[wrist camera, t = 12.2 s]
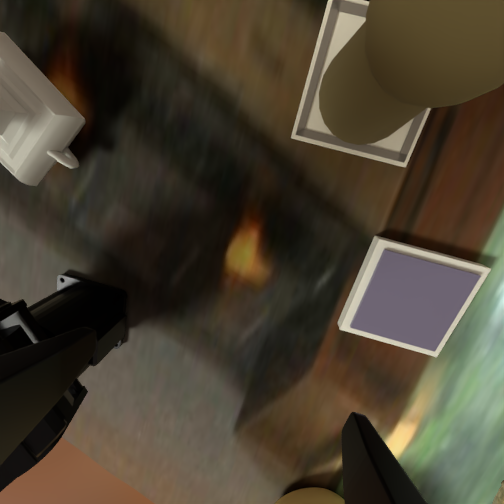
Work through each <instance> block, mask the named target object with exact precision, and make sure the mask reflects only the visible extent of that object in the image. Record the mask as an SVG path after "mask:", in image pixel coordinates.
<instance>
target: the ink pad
mask: <svg viewBox="0 0 504 504" xmlns="http://www.w3.org/2000/svg"><path fill="white" fill-rule="evenodd" d="M490 270H491V269H490V268H488V267H486V266H484V265H482V264H480V263H476V262H472V261H468V260H465V259H461V258H457V257H454V256H450V255H446V254H442V253H439V252H435V251H431V250H428V249H424V248H420V247H416V246H413V245H409V244H405V243H402V242H398V241H394V240H390V239H387V238H383V237H379V236H374V238H373V241H372V243H371V245H370V248H369V250H368V252H367V255H366V257H365V259H364V262H363V264H362V267H361V269H360V271H359V274H358V276H357V278H356V281H355V283H354V285H353V288H352V290H351V292H350V295H349V297H348V299H347V302H346V304H345V306H344V309H343V311H342V313H341V316H340V318H339V320H338V325H339V329H340V330H343V331H347V332H350V333H354V334H357V335H361V336H364V337H368V338H371V339H375V340H378V341H382V342H385V343H389V344H392V345H396V346H399V347H403V348H406V349H410V350H413V351H417V352H420V353H424V354H427V355H431V356H434V357H437V356H438V354H439V353H440V351H441V349H442V348H443V346H444V345H445V343H446V341H447V340H448V338H449V337H450V335H451V333H452V332H453V330H454V328H455V327H456V325H457V324H458V322H459V320H460V319H461V317H462V315H463V314H464V312H465V311H466V309H467V307H468V306H469V304H470V303H471V301H472V299H473V298H474V296H475V294H476V293H477V291H478V290H479V288H480V286H481V285H482V283H483V282H484V280H485V278H486V277H487V275H488V273H489V272H490Z"/></svg>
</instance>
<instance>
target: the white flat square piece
mask: <svg viewBox="0 0 504 504" xmlns="http://www.w3.org/2000/svg"><path fill="white" fill-rule="evenodd" d="M368 5H369V1H364V0H328V3H327V7H326V11H325V14H324V18H323V22H322V25H321V29H320V33H319V36H318V40H317V44H316V47H315V51H314V55H313V58H312V62H311V66H310V69H309V73H308V77H307V80H306V84H305V88H304V91H303V95H302V99H301V102H300V106H299V110H298V113H297V117H296V121H295V124H294V128H293V132H292V135H291V139H295V140H299V141H303V142H307V143H311V144H315V145H319V146H323V147H326V148H330V149H334V150H338V151H342V152H346V153H350V154H354V155H358V156H362V157H365V158H369V159H373V160H377V161H381V162H385V163H389V164H393V165H397V166H400V167H406V166H407V163H408V161H409V159H410V156H411V154H412V152H413V149H414V147H415V145H416V142H417V140H418V138H419V135H420V133H421V131H422V128H423V126H424V124H425V121H426V119H427V117H428V114H429V112H430V110H431V108H426V109H425V110H424V111H422V112H421V113H420V114H418V115H417V116H416V117H414V118H413V119H412V120H410V121H409V122H408V123H406V124H405V125H404V126H402V127H401V128H400V129H398V130H397V131H396V132H394V133H393V134H391V135H390V136H389V137H387V138H385V139H382V140H380V141H378V142H375V143H372V144H363V145H356V144H352V143H347V142H344V141H342V140H341V139H339V138H338V137H336V136H335V135H333V134H332V133H331V131H330V130H329V129H328V127H327V126H326V125H325V124H324V121H323V118H322V115H321V112H320V109H319V90H320V86H321V82H322V78H323V75H324V73H325V71H326V70H327V68H328V66H329V64H330V63H331V61H332V59H333V58H334V57H335V56H336V55H337V54H338V52H339V51H340V50H341V49H342V48H343V47H344V45H345V44H346V43H347V42H348V41H349V40H350V38H351V37H352V36H353V35H354V34H355V33H356V31H357V30H358V29H359V28H360V27H361V26H362V24H363V23H364V22H365V21H366V12H367V9H368Z"/></svg>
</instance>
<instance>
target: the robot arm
mask: <svg viewBox="0 0 504 504" xmlns="http://www.w3.org/2000/svg"><path fill="white" fill-rule="evenodd" d="M63 278H64V279H63ZM119 294H120V295H121V297H120V296H119ZM126 297H127V295H126V293H125V291H123V290H121V289H117V288H114V287H110V286H107V285H103V284H100V283H96V282H93V281H89V280H86V279H83V278H79V277H76V276H72V275H69V274H61V275H59V276H58V277H57V292H55V293H53V294H52V295H50V296H48V297H46V298H44V299H42V300H41V301H39V302H37V303H35V304H33V305H32V306H30V307H28V308H27V307H26V306H27V304H26V303H25V301H24V300H23V299H22V300H19V301H17V302H14V303H12V304H11V302H6V301H4V300H2V299H0V492H1V491H2V490H3V489H4V488H5V487H6V486H8V485H9V484H10V483H11V482H12V481H13V480H15V479H16V478H17V477H19V476H21V475H22V474H24V473H25V472H27V471H28V470H29V469H31V468H32V467H33V466H35V465H36V464H37V463H38V462H39V461H40V460H42V459H43V458H44V457H45V456H46V455H47V454H48V453H49V452H50V451H51V450H52V449H53V447H54V446H55V445H56V444H57V443H58V441H59V440H60V438H61V437H62V435H63V434H64V432H65V430H66V429H67V427H68V425H69V423H70V422H71V420H72V418H73V417H74V415H75V413H76V411H77V410H78V408H79V406H80V404H81V403H82V401H83V399H84V398H85V396H86V394H87V392H88V391H87V389H86V388H85V386H82V385H81V383H80V382H79V380H78V379H77V378H78V377H79V376H80V375H81V374H82V373H83V372H84V371H85V370H86V369H87V368H88V367H89V366H90V365H91V366H96V365H97V364H98V363H99V362H100V361H101V360H102V359H103V358H104V357H105V356H106V355H107V354H108V353H109V352H110V351H111V350H112V349H113V348H115V349H118V348H119V347H120V346H121V345H122V343H123V337H124V336H125V325H126V313H125V309H126ZM342 463H343V490H344V500H345V504H427V502H426V501H425V499H424V498H423V497H422V495H421V494H420V492H419V491H418V489H417V488H416V487H415V485H414V484H413V482H412V481H411V479H410V478H409V477H408V475H407V474H406V472H405V471H404V469H403V468H402V467H401V465H400V464H399V462H398V461H397V460H396V458H395V457H394V455H393V454H392V452H391V451H390V450H389V448H388V447H387V445H386V444H385V442H384V441H383V440H382V438H381V437H380V435H379V434H378V432H377V431H376V430H375V428H374V427H373V425H372V424H371V422H370V421H369V420H368V418H367V417H366V416H365V415H362V414H359V413H356V412H352V413H351V414H350V416H349V418H348V419H347V421H346V423H345V425H344V427H343V430H342Z"/></svg>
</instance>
